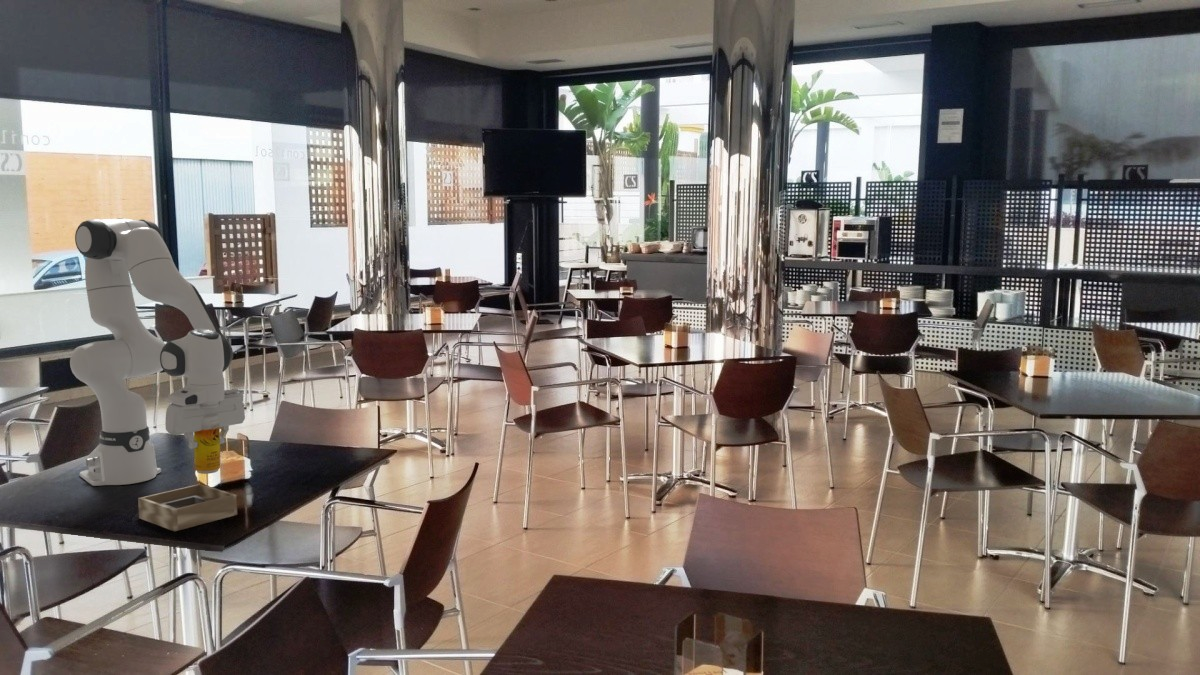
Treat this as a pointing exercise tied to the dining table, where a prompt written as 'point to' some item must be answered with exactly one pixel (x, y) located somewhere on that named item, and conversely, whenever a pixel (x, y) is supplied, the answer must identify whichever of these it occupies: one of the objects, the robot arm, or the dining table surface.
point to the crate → (187, 507)
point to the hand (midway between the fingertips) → (206, 445)
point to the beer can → (208, 446)
